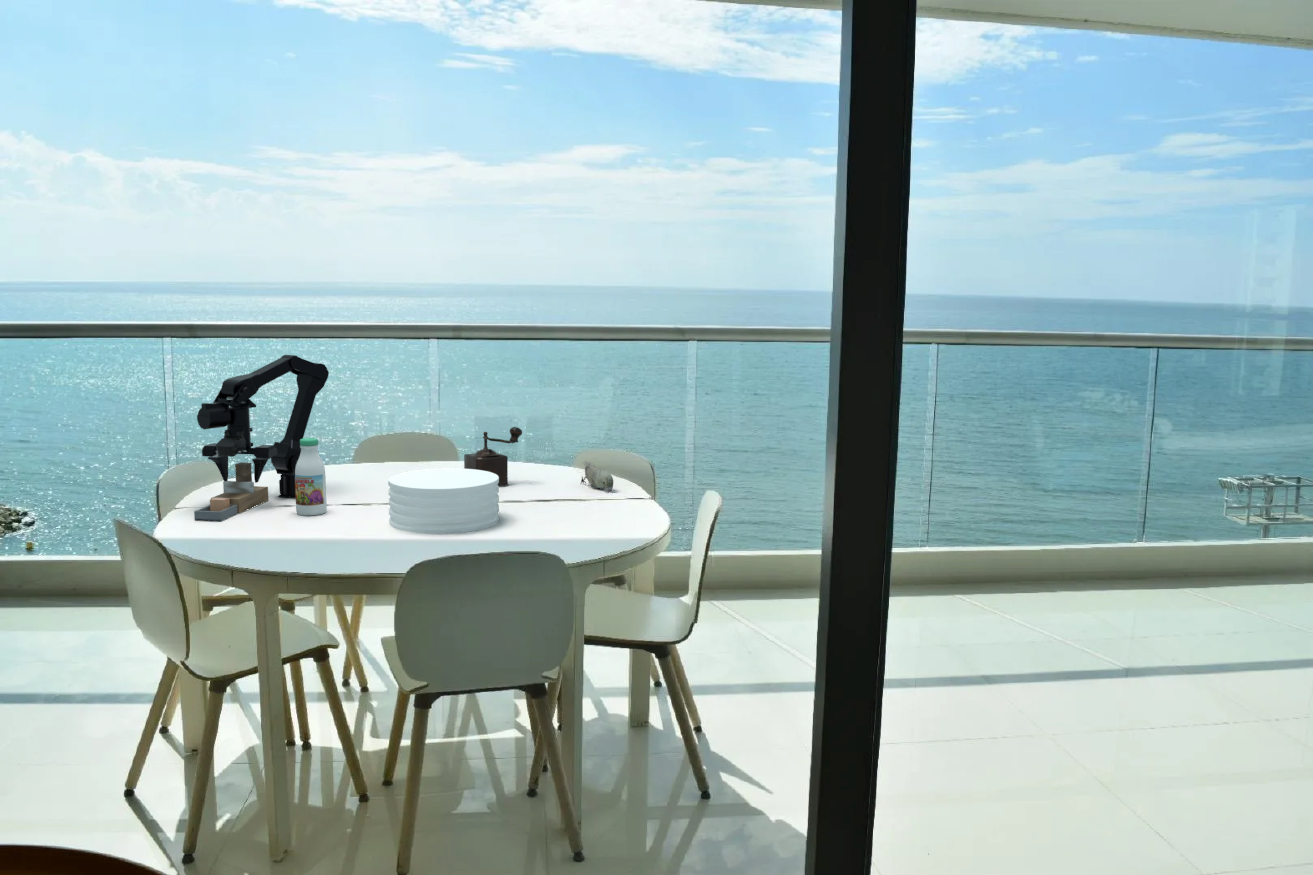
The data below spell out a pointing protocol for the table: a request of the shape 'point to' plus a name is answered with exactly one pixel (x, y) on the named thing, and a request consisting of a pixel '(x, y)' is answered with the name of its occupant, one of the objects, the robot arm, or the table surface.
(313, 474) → the milk bottle
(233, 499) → the walnut board
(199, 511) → the box
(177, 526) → the table surface
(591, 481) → the decorative bird
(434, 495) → the plate stack
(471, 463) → the manual coffee grinder
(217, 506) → the terracotta tile
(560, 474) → the table surface
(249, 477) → the grey block with post
